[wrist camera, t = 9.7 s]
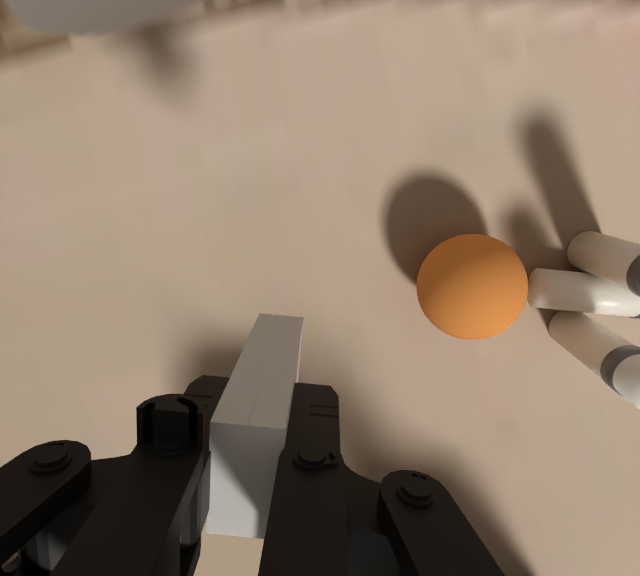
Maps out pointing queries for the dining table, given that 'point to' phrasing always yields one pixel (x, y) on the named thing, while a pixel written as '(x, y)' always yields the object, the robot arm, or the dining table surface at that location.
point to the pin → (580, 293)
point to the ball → (472, 286)
